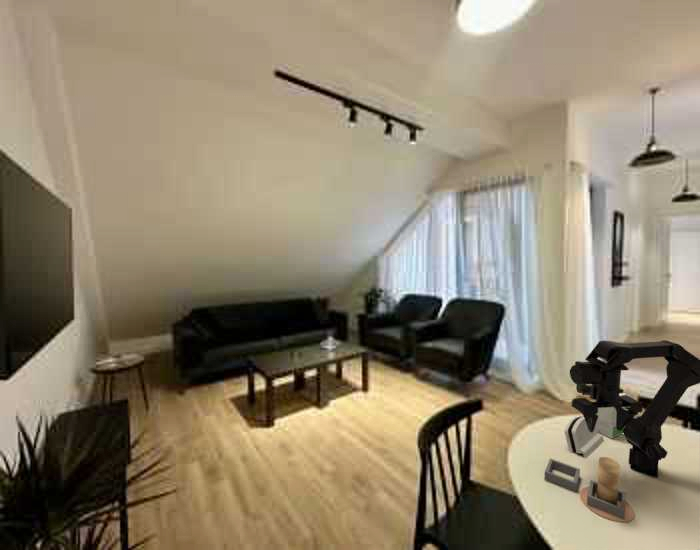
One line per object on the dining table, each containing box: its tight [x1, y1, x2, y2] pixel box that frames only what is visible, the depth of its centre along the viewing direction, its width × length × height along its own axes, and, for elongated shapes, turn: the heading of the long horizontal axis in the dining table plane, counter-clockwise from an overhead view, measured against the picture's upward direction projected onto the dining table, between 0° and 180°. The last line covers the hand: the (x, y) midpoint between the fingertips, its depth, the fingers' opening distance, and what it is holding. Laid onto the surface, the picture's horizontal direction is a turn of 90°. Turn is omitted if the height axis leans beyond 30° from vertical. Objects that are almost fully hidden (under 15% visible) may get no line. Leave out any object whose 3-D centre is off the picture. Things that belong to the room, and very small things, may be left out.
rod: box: [597, 456, 621, 506], centre depth 92 cm, size 4×4×12 cm
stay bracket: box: [579, 479, 635, 523], centre depth 92 cm, size 12×12×3 cm
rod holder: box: [544, 458, 581, 493], centre depth 103 cm, size 8×8×2 cm
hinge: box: [564, 415, 605, 459], centre depth 119 cm, size 17×5×10 cm, turn 125°
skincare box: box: [595, 392, 627, 439], centre depth 125 cm, size 8×7×16 cm
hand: (604, 431), depth 104 cm, fingers open, 9 cm apart
